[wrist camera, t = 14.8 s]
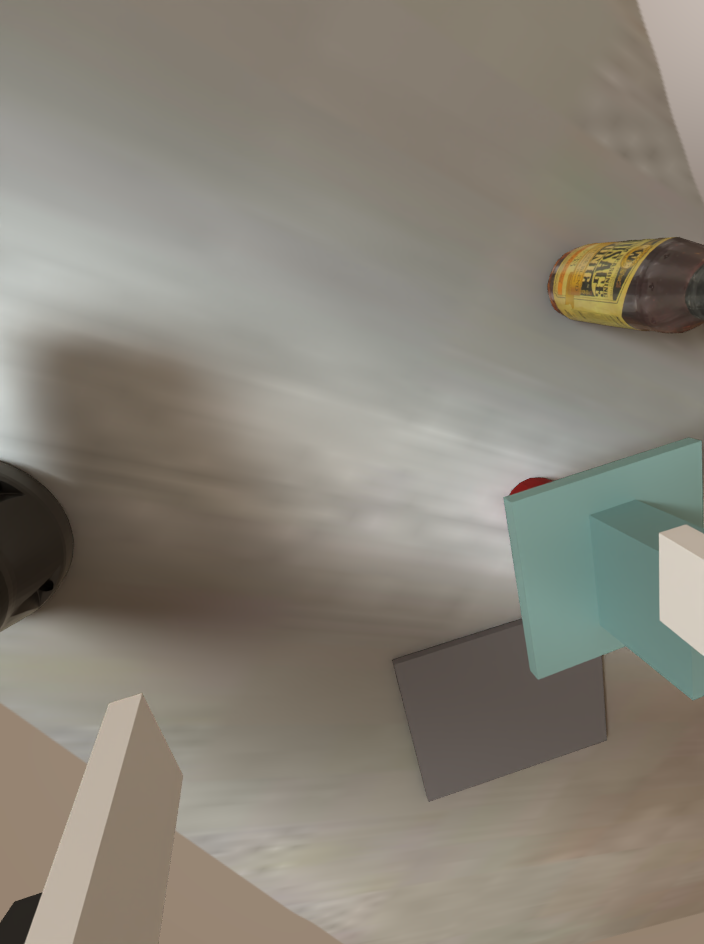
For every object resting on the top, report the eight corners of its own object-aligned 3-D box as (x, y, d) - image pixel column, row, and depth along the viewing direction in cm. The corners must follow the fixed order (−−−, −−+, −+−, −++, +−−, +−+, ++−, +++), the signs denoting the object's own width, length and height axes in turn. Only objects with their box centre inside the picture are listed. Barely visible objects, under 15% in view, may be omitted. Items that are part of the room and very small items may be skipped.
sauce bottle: (579, 229, 45) (808, 187, 26) (619, 280, 47) (857, 275, 28) (526, 289, 45) (712, 289, 27) (568, 337, 48) (766, 367, 29)
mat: (426, 795, 64) (428, 801, 64) (392, 659, 56) (394, 664, 56) (602, 735, 66) (606, 740, 66) (593, 595, 58) (598, 599, 58)
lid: (530, 670, 43) (615, 768, 34) (503, 497, 38) (594, 554, 28) (693, 608, 45) (817, 684, 36) (688, 437, 40) (830, 472, 31)
